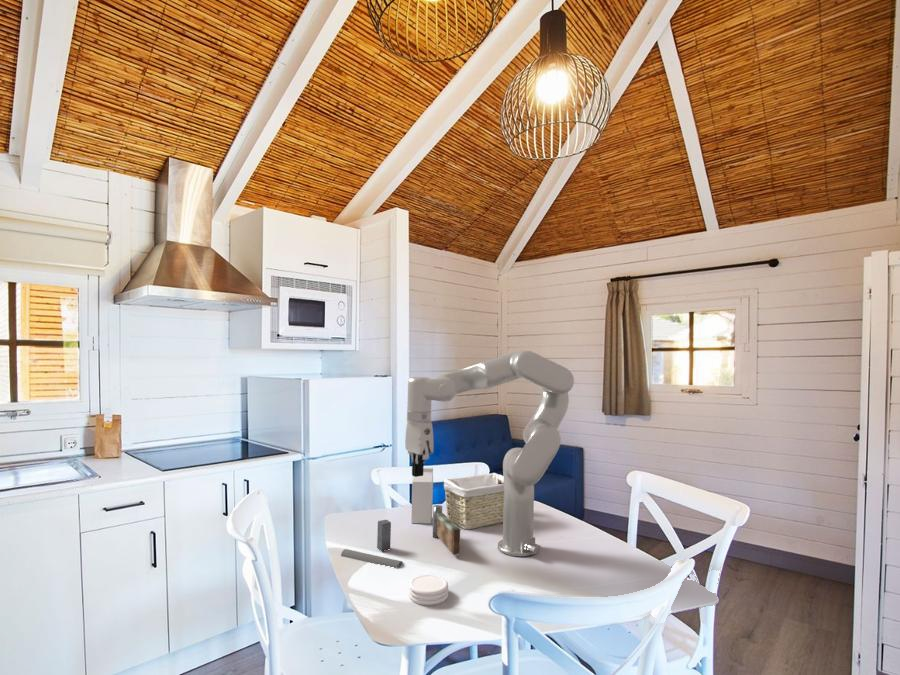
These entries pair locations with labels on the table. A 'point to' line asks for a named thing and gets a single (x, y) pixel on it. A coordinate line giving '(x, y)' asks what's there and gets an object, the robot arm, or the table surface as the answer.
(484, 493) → the storage basket
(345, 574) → the table surface
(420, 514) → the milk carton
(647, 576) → the table surface
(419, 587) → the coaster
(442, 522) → the wooden board
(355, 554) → the half round rod
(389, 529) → the gate posts
